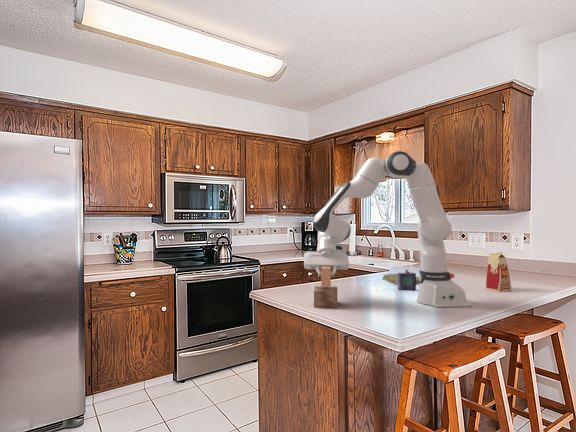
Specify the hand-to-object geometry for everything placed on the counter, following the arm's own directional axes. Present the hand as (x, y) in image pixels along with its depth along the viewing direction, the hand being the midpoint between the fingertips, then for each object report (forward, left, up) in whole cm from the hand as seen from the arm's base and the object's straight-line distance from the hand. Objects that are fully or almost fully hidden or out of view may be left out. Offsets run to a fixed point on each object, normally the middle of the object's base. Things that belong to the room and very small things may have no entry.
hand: (325, 275), depth 160 cm
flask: (-41, -37, -13) cm, 56 cm away
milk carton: (-88, -43, -13) cm, 99 cm away
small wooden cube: (0, -1, -13) cm, 13 cm away
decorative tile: (-43, -61, -14) cm, 75 cm away
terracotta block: (0, -1, -4) cm, 4 cm away
